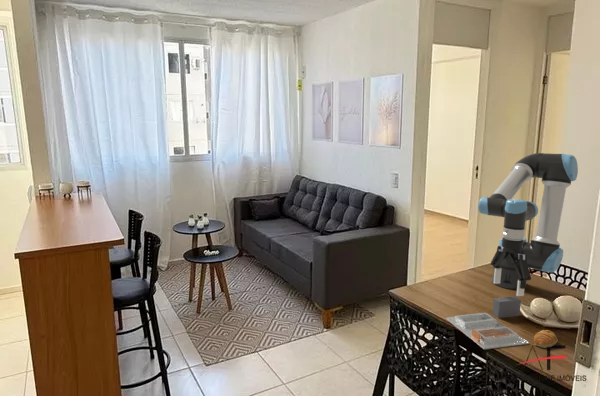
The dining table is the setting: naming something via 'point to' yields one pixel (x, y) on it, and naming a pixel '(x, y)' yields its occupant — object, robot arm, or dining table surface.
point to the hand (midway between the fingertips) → (507, 289)
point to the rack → (486, 331)
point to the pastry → (545, 339)
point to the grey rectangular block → (506, 307)
